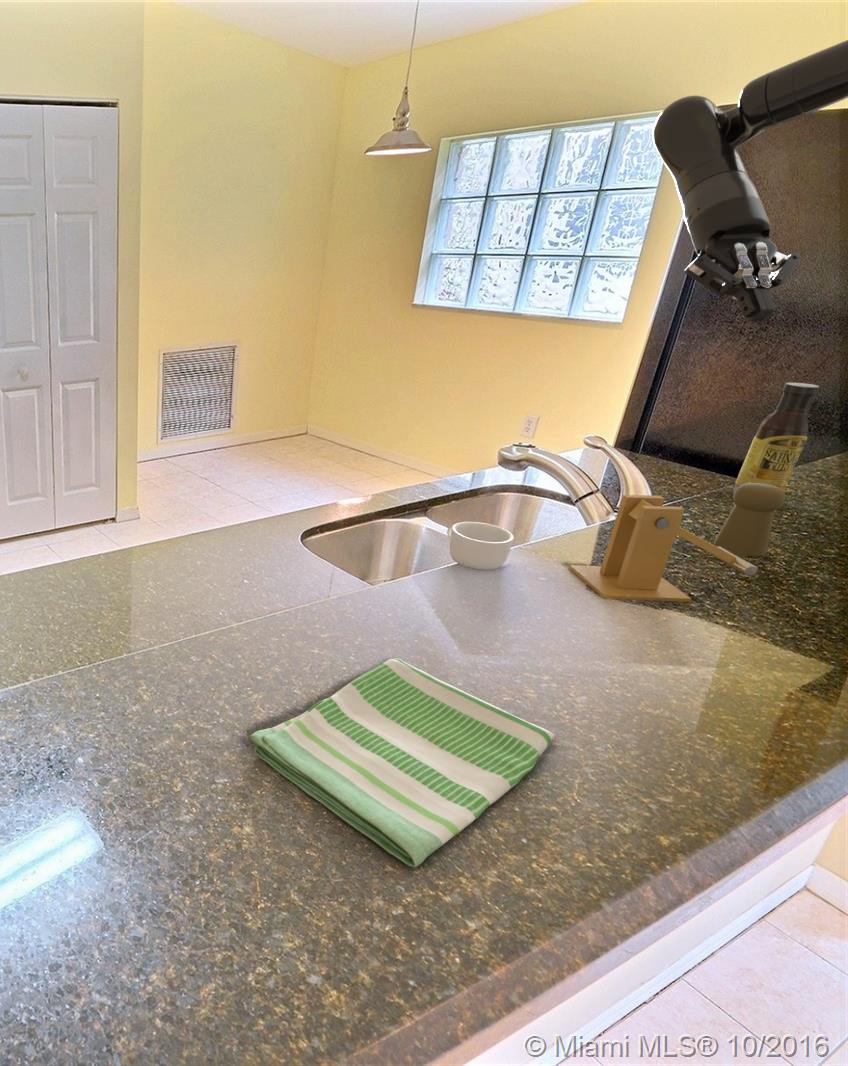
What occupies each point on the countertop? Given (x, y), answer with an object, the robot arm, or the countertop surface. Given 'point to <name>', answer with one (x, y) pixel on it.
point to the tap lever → (708, 546)
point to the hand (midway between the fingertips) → (761, 317)
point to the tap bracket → (637, 553)
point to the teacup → (479, 545)
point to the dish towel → (404, 756)
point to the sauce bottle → (779, 439)
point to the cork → (750, 520)
